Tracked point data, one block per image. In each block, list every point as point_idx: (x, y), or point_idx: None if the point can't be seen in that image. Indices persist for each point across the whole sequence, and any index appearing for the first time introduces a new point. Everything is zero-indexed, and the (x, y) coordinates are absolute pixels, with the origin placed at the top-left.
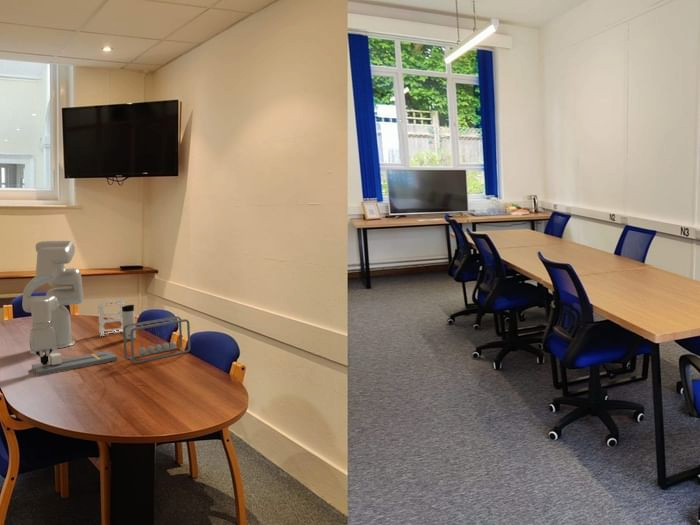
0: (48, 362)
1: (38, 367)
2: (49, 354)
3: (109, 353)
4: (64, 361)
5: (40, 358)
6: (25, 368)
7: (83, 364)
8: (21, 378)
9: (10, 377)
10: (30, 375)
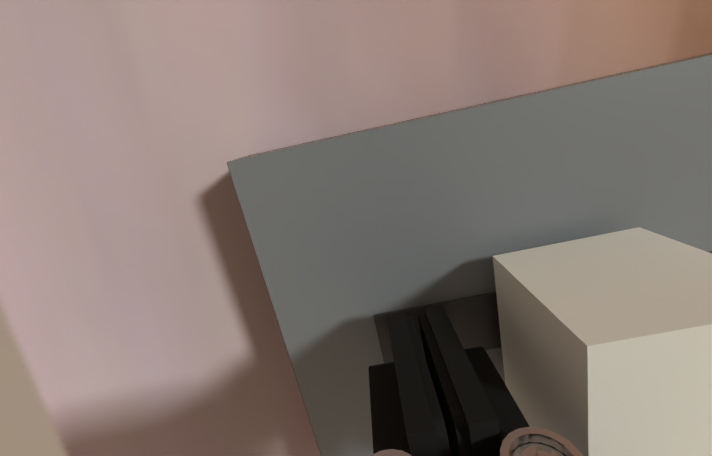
0: (473, 156)
1: (336, 351)
2: (590, 358)
3: None
4: (692, 226)
5: (374, 435)
6: (151, 70)
7: None
8: (198, 448)
9: (77, 374)
10: (267, 400)
